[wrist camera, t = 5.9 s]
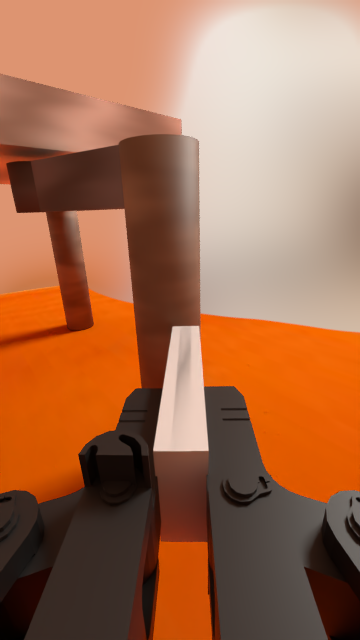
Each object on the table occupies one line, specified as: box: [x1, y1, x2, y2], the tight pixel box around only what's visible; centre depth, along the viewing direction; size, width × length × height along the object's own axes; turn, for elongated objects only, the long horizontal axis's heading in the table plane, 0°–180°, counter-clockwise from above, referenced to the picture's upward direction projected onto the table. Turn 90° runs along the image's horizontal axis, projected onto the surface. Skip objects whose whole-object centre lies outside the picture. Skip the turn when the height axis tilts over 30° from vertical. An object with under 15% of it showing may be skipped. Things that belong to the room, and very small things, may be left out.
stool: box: [0, 74, 182, 330], centre depth 22 cm, size 18×18×18 cm
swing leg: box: [6, 134, 200, 388], centre depth 15 cm, size 10×3×15 cm, turn 60°
